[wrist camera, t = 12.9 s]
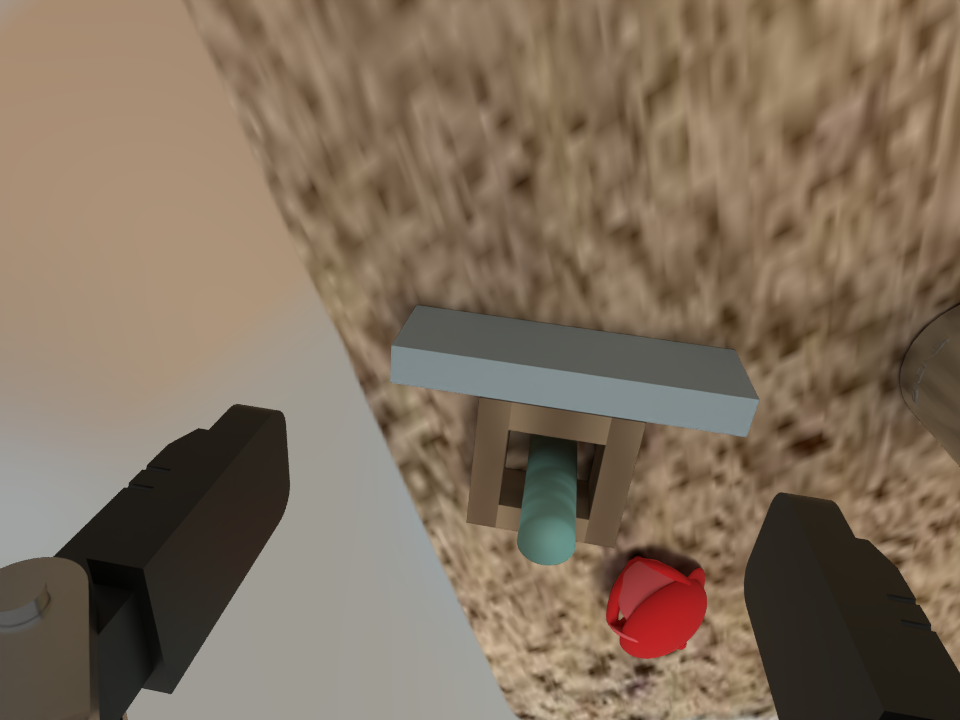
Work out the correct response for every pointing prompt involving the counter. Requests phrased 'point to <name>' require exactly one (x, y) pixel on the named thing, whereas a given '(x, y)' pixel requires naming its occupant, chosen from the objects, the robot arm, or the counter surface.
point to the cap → (656, 607)
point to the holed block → (503, 489)
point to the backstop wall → (575, 369)
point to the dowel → (549, 501)
